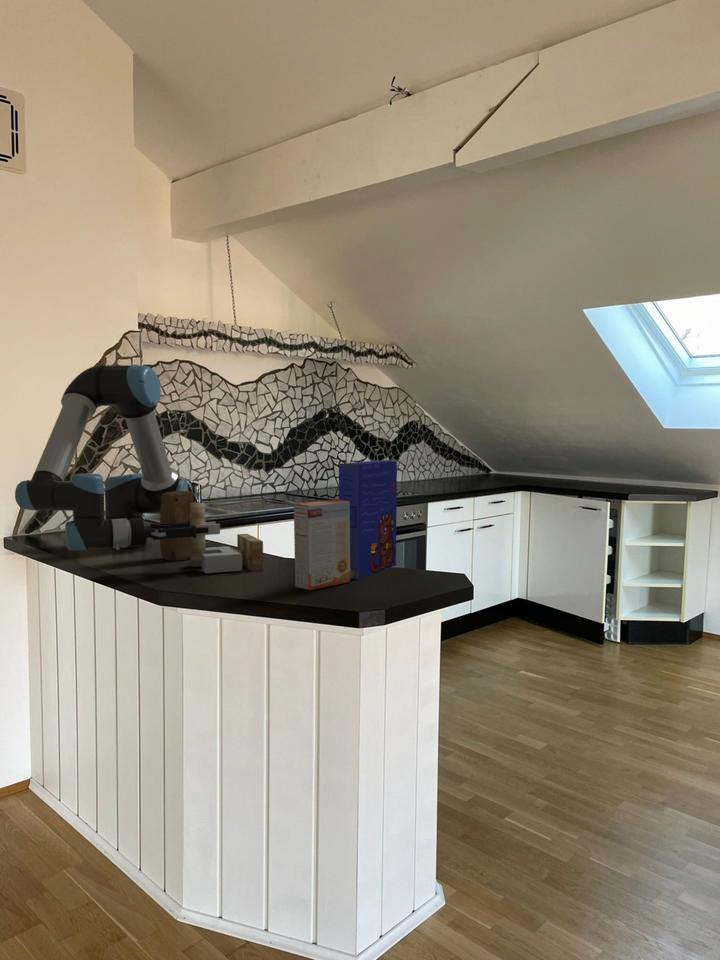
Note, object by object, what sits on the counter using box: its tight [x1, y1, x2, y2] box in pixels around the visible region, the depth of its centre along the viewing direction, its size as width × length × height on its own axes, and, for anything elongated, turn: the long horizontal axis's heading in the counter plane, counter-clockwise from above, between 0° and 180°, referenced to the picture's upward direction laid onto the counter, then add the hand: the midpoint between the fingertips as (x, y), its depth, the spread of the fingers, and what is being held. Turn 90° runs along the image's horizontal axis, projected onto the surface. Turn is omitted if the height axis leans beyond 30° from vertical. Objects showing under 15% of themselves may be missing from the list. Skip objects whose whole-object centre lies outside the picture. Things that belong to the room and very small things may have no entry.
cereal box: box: [338, 459, 398, 581], centre depth 200 cm, size 22×6×30 cm, turn 151°
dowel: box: [190, 502, 206, 568], centre depth 200 cm, size 4×4×17 cm
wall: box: [236, 533, 264, 572], centre depth 208 cm, size 15×3×8 cm, turn 25°
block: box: [159, 490, 194, 562], centre depth 218 cm, size 11×8×20 cm
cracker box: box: [293, 499, 351, 591], centre depth 183 cm, size 14×6×21 cm, turn 134°
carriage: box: [201, 545, 243, 574], centre depth 204 cm, size 14×10×4 cm
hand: (217, 527), depth 202 cm, fingers closed on dowel, 4 cm apart
